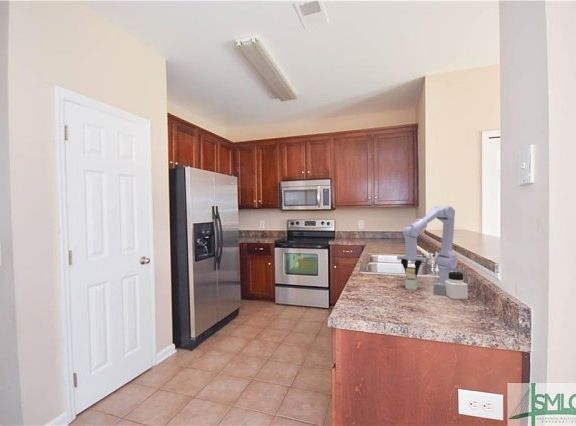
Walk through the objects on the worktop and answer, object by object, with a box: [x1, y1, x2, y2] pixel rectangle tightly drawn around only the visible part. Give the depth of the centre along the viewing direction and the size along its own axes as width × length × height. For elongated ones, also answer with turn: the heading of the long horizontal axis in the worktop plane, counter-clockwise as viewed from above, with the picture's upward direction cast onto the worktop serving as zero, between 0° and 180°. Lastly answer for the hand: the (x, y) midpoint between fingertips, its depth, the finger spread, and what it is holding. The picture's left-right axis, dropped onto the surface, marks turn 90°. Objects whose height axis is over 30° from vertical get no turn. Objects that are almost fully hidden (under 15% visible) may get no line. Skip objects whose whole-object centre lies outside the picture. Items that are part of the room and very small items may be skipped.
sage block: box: [405, 278, 419, 291], centre depth 151 cm, size 5×5×5 cm
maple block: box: [405, 266, 418, 279], centre depth 151 cm, size 4×4×5 cm
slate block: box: [433, 282, 446, 296], centre depth 140 cm, size 4×4×5 cm
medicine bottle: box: [445, 270, 469, 300], centre depth 134 cm, size 7×7×12 cm
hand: (411, 274), depth 151 cm, fingers closed on maple block, 4 cm apart
